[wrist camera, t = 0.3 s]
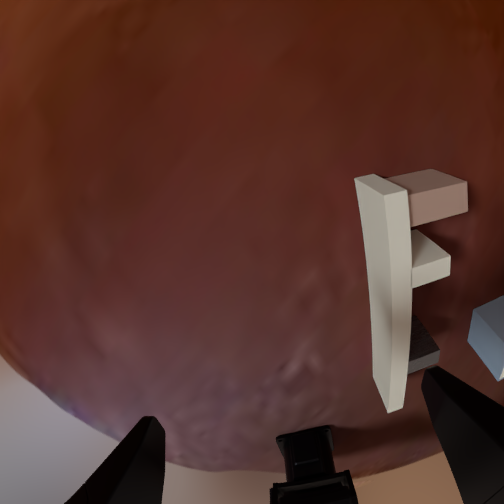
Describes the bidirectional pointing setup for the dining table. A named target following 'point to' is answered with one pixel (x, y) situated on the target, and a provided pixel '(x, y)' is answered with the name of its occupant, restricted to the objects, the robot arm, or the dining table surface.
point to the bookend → (421, 347)
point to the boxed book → (489, 335)
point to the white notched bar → (401, 261)
